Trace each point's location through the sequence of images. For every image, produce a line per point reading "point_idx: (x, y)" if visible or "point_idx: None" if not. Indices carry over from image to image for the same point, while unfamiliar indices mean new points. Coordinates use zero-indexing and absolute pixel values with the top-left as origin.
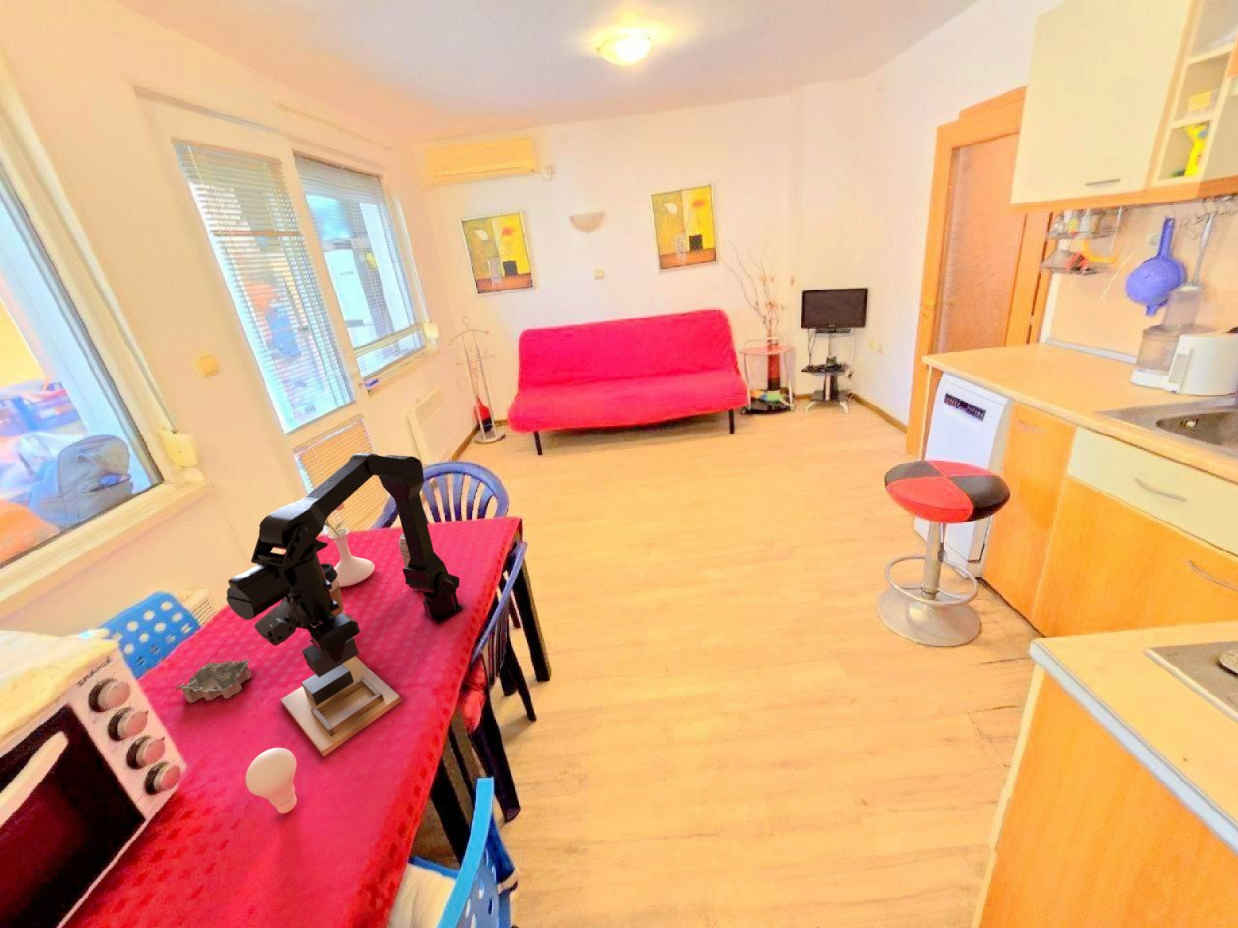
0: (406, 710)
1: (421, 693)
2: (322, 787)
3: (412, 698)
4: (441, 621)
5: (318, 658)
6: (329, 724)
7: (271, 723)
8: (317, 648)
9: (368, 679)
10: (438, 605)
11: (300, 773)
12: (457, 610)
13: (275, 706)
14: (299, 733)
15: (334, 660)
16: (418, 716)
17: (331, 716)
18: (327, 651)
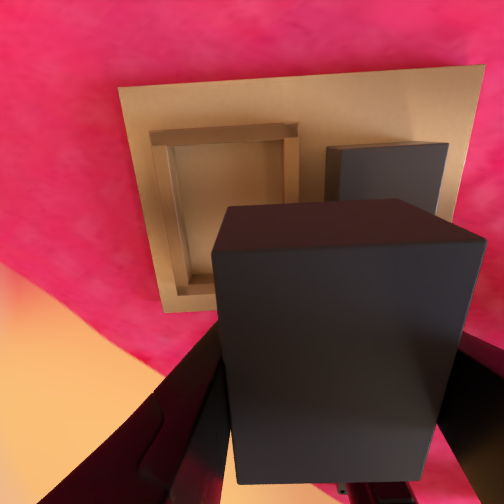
0: (129, 298)
1: (156, 339)
2: (11, 44)
3: (157, 321)
4: None
5: (222, 295)
6: (174, 143)
7: (415, 6)
8: (367, 330)
9: None
10: (364, 501)
11: (110, 10)
12: (337, 484)
13: (483, 46)
14: (282, 67)
15: (212, 327)
16: (89, 307)
17: (242, 163)
18: (195, 383)
